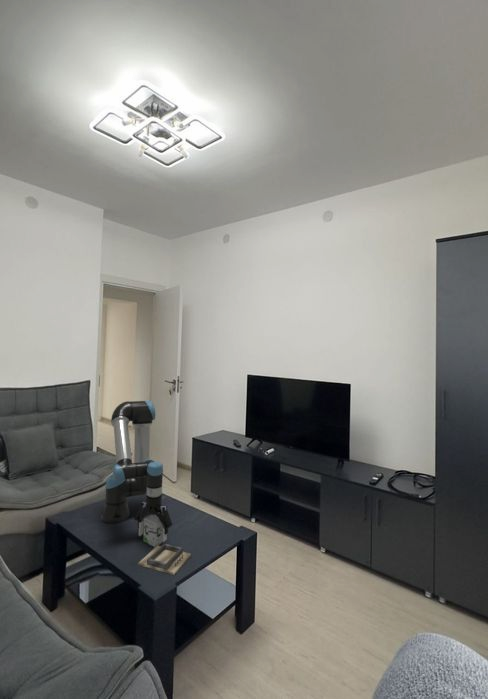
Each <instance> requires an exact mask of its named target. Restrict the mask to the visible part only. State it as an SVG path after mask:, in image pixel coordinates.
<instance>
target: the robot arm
mask: <svg viewBox="0 0 488 699" xmlns="http://www.w3.org/2000/svg"><path fill="white" fill-rule="evenodd" d="M155 408H156V407H155V404H154V402H152V401H150V400H138V401H137V400H134V401H129V400H128V401H127V400H126V401H123V402H121V403H120V404H118V405H117V406H116V407H115V409H114V410H113V412H112V414H111V421H110V422H111V426H112V427H113V434H114V445H115V447H114V448H115V459H116V460H115V461H116V464H115V465H114V464H113V467H112V474H111V475H110V476H108V477H107V478H106V480H105V485H104V486H105V498H104V507H103V509H102V512H101V514H100V519H101V521H102V522H104V523H106V522H107V523H108V524H115V523H121V522H124V521H126V520H127V519H129V517H130V513H131V512H130V508H129V506H128V498H130V497H137V496H146V498H145V500H144V501H143V502H140V506H139V509H138V511H137V512H136V515H135V517H134V520H135V521H137V528H138V537H141V536H142V535H144V518H146V517H147V515H148V514H149V515H154V516H157V517H158V518H159V519H160V521H161V523H162V542H163V543H164V542H165V541H167V540H168V536H167V535H168V534H169V528H171V527H172V526H173V523H172V522H173V521H172V520H171V516H170V514H169V512H168V505H164V506H162V500H163V497H162V496H163V478H164V477H163V474H164V465H163V463H162V462H160V461H155V460H153V459H150V438H151V437H150V435H151V433H150V431H151V429H150V427H151V425H152V424H153V421H154V420H156V409H155ZM130 422H131V425H132V426H133V427H134V443H133V444H134V445H133V446H134V451H133V454H134V458H132V452H131V449H132V448H131V440H130V432H129V423H130ZM133 459H134V461H133ZM145 508H146V510H145V511H144V509H145ZM143 511H144V512H143Z"/></svg>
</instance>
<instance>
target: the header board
mask: <svg viewBox="0 0 488 699" xmlns="http://www.w3.org/2000/svg"><path fill="white" fill-rule="evenodd" d="M191 556H192V553H190V552H185V551H184V548H183V547H180V546H176V545H175V546H174V545H172V544H168V543H163V544H162V545H157V546H155V547H153V549H152V550H151V551H150V552H148V554H146V555H145V557H143V558H142V559H141V560H140V561H139V562H138V566H141V567H144V568H148V569H150V570H155V571H158V572H162V573H166V574H169V575H172V576H175V574H177V572H178V571H179V570H180V569H181V568H182V567H183V566H184V565H185V563H186V562H187V561H188V560H189V559H190V558H191Z"/></svg>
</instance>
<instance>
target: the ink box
mask: <svg viewBox="0 0 488 699" xmlns="http://www.w3.org/2000/svg"><path fill="white" fill-rule="evenodd" d="M143 521H144V527H143V537H142V538H143V539H142V540H143V543H146V544H148V545H149V546H152V547H153V548H155V547H156V546H160V544H162V535H163V525H162V523H161V521H160V519H159V518H158V517H157V516H156V515H154V514H149V515H148V516H145V517H144V518H143Z"/></svg>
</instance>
